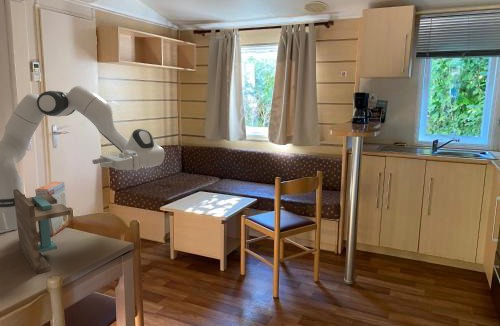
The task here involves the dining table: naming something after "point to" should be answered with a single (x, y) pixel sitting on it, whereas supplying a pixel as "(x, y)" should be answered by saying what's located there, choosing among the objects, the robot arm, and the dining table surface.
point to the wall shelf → (34, 227)
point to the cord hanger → (44, 226)
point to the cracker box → (59, 194)
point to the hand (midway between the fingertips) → (96, 163)
